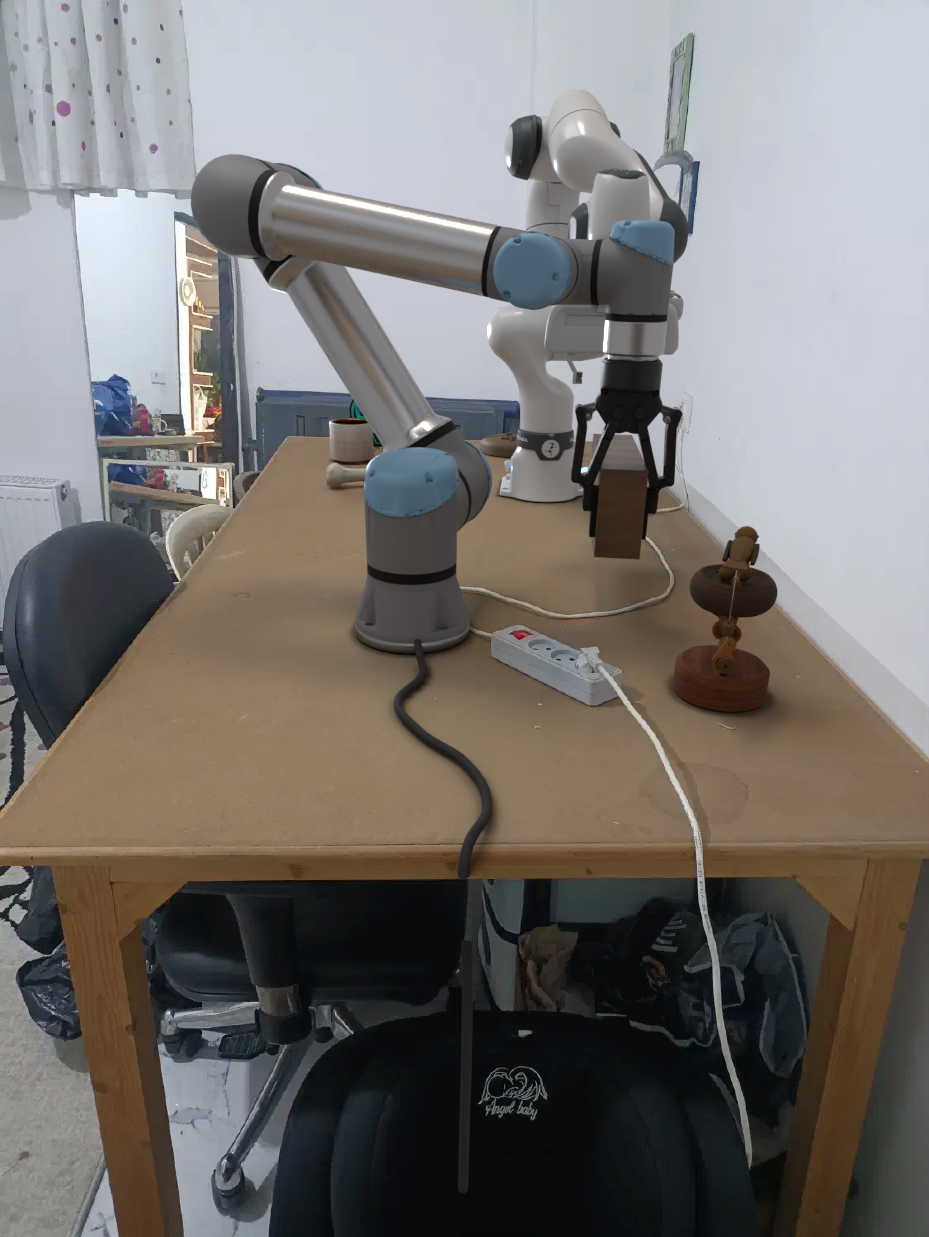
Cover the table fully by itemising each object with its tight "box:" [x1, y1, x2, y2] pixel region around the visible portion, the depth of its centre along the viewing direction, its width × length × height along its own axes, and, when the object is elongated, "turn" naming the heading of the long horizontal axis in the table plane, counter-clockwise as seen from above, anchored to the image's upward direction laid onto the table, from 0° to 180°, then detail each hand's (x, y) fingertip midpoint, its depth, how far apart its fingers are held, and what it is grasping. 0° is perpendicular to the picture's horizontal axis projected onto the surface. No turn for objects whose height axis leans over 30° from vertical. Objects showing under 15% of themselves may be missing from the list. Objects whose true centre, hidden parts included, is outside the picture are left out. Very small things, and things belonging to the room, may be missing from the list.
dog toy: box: [325, 462, 366, 487], centre depth 188 cm, size 20×6×5 cm, turn 99°
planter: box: [328, 417, 375, 464], centre depth 212 cm, size 11×11×10 cm
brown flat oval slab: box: [479, 431, 518, 458], centre depth 221 cm, size 21×28×4 cm
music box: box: [672, 525, 778, 713], centre depth 95 cm, size 15×11×20 cm
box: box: [587, 433, 648, 560], centre depth 122 cm, size 26×6×12 cm, turn 174°
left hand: (616, 535), depth 114 cm, fingers closed on box, 6 cm apart
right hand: (607, 384), depth 131 cm, fingers open, 8 cm apart
